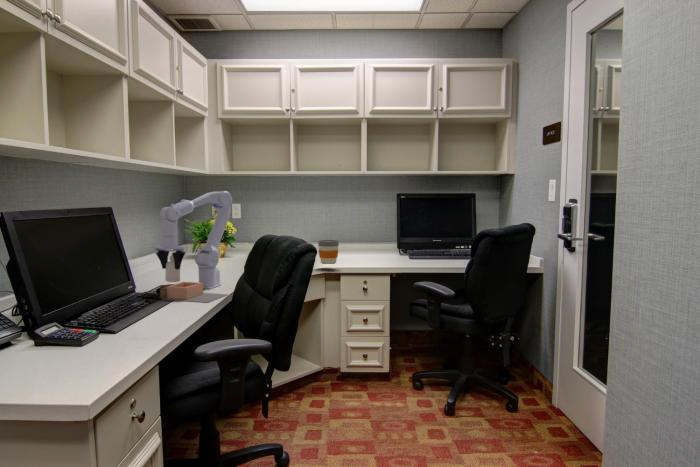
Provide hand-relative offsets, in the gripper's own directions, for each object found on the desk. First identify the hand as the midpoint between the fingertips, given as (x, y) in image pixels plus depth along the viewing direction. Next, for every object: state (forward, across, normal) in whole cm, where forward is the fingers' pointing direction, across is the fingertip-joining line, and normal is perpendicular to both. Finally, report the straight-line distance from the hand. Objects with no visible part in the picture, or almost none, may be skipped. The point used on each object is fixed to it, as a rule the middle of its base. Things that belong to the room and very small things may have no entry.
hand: (171, 268), depth 168 cm
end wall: (+10, +4, -4) cm, 12 cm away
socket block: (+10, +9, -3) cm, 14 cm away
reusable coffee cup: (+11, +39, +92) cm, 101 cm away
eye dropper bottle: (+6, 0, +1) cm, 6 cm away
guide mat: (+10, +12, -3) cm, 16 cm away
